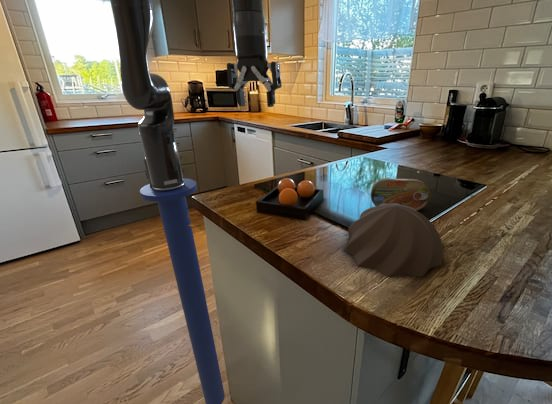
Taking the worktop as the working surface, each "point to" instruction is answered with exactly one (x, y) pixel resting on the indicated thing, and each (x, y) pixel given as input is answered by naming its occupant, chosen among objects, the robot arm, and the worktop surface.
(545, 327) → the worktop surface
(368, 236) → the decorative dome
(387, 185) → the tin
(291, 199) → the clementine
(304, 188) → the tray
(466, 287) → the worktop surface
